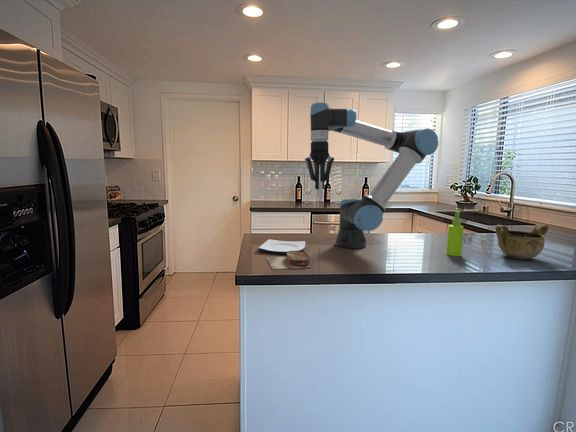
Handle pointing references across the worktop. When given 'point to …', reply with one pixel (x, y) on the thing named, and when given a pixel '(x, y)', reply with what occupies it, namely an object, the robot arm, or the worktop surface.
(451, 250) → the green bottle
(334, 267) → the worktop surface
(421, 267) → the worktop surface
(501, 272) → the worktop surface
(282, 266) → the cork mat
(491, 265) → the worktop surface
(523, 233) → the ceramic bowl
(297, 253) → the bread slice
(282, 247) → the plate
